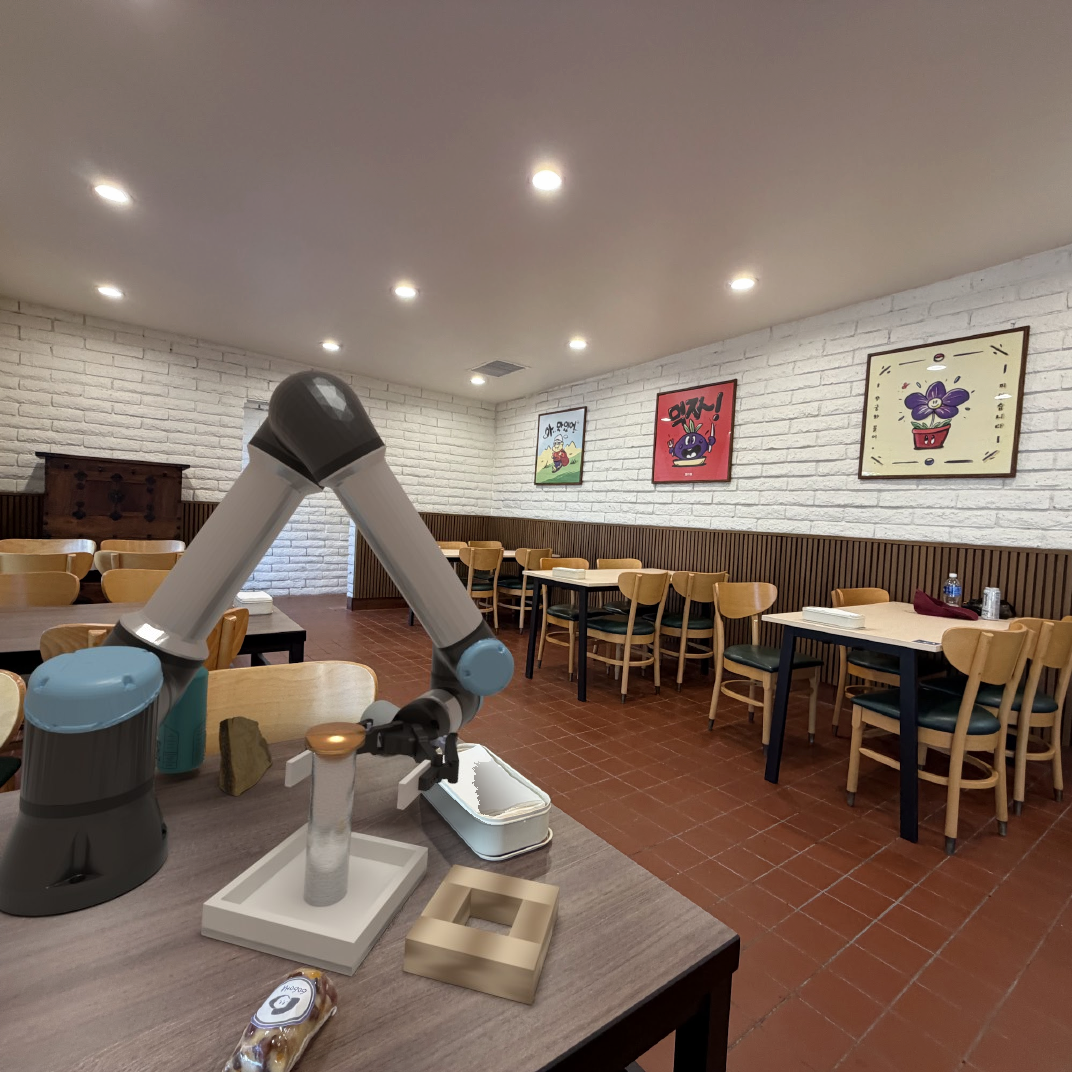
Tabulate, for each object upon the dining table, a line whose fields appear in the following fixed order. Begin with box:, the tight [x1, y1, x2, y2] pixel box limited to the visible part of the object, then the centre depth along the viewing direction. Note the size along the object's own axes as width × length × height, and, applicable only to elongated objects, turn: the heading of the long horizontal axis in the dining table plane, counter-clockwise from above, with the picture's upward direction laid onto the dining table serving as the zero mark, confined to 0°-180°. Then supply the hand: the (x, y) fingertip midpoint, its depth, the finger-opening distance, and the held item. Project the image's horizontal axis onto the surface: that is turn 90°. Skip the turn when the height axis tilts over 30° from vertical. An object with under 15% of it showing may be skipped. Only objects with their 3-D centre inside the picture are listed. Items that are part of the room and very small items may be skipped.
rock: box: [218, 715, 274, 798], centre depth 86 cm, size 11×9×10 cm
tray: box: [200, 821, 429, 977], centre depth 60 cm, size 16×16×3 cm
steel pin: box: [303, 721, 366, 907], centre depth 60 cm, size 6×6×17 cm
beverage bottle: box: [155, 665, 210, 774], centre depth 86 cm, size 6×7×20 cm
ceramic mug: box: [359, 699, 401, 747], centre depth 103 cm, size 11×8×8 cm
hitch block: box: [402, 864, 561, 1006], centre depth 56 cm, size 12×12×3 cm
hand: (343, 785), depth 61 cm, fingers open, 13 cm apart
